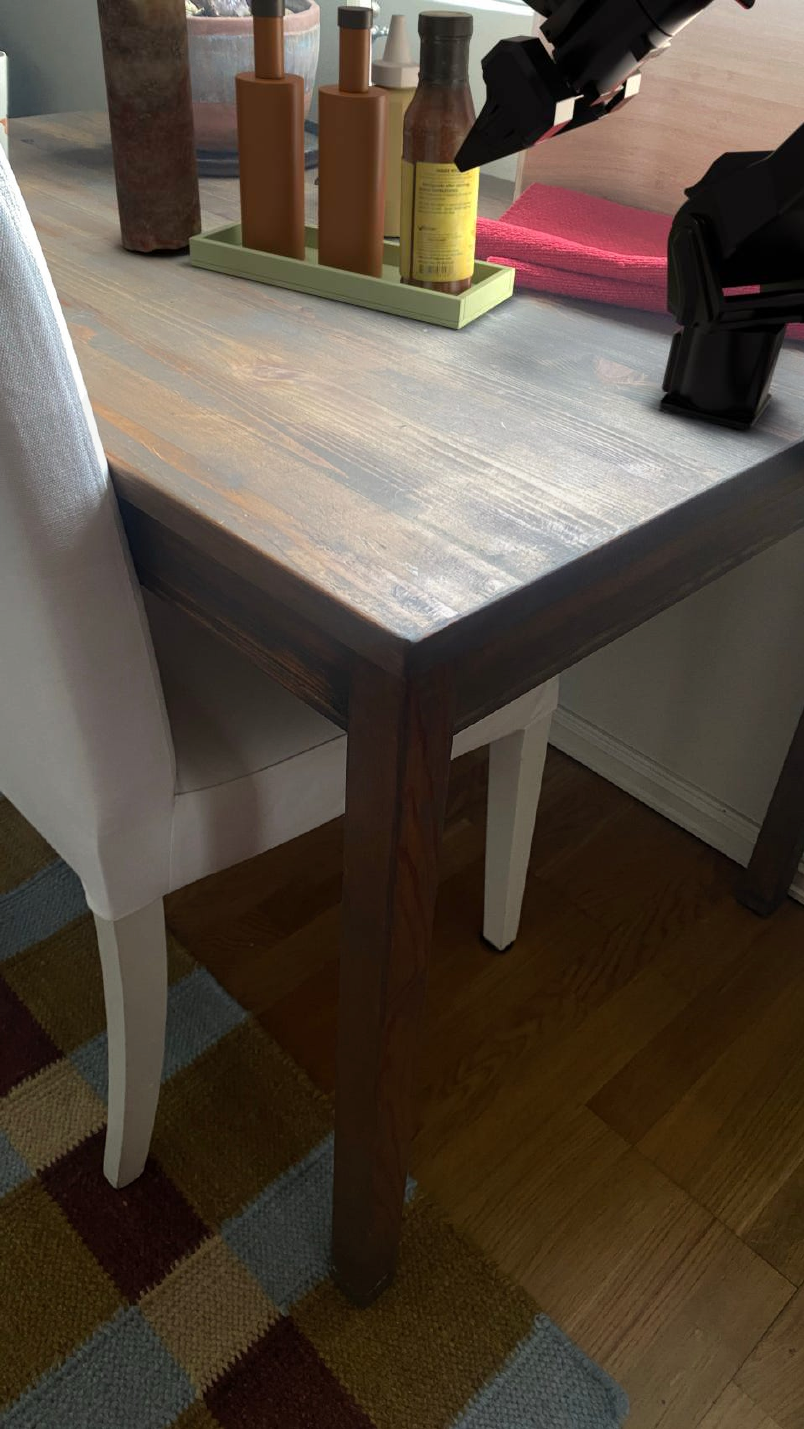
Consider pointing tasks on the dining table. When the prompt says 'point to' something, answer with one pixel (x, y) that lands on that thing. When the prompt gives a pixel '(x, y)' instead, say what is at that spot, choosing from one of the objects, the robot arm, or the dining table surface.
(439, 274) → the sauce bottle
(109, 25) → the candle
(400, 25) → the squeeze bottle
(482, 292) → the bottle tray
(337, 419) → the dining table surface
